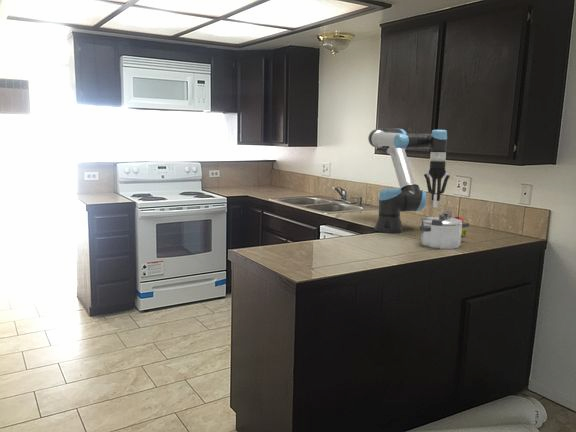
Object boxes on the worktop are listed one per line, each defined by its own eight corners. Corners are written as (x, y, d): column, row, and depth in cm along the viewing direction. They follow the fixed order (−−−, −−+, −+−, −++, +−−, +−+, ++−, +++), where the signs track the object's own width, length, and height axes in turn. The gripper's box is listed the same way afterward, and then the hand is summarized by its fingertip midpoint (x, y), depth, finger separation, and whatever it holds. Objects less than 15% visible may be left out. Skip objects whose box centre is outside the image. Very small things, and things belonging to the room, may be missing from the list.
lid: (457, 227, 227) (457, 220, 226) (416, 224, 235) (416, 216, 235) (468, 218, 254) (468, 211, 254) (430, 214, 263) (431, 208, 262)
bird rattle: (449, 240, 264) (465, 235, 258) (443, 220, 265) (458, 215, 259) (454, 238, 269) (470, 234, 263) (447, 219, 270) (463, 214, 264)
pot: (408, 243, 246) (410, 221, 244) (452, 238, 259) (454, 217, 257) (434, 250, 230) (436, 227, 229) (480, 245, 243) (481, 222, 242)
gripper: (422, 160, 252) (420, 206, 256) (449, 161, 245) (446, 208, 249) (427, 160, 258) (425, 205, 262) (452, 160, 252) (450, 207, 255)
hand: (435, 206), depth 255 cm, fingers closed
